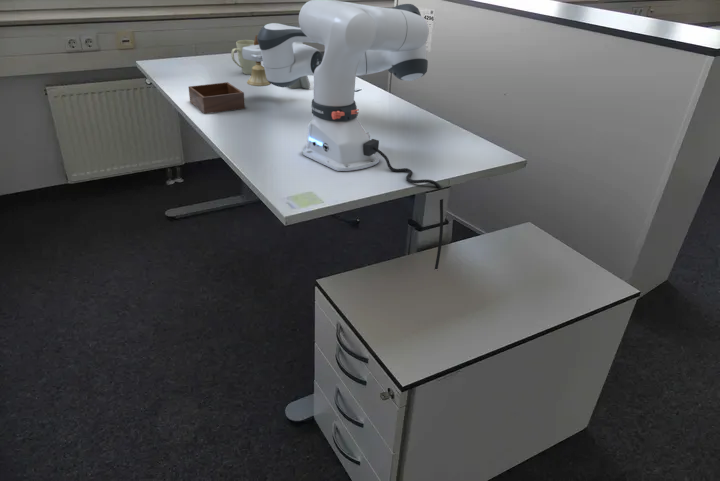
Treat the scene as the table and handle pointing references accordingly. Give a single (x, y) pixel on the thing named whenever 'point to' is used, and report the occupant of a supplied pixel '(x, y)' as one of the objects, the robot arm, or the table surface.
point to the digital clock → (301, 83)
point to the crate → (216, 97)
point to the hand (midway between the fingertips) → (255, 46)
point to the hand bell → (258, 73)
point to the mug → (244, 63)
